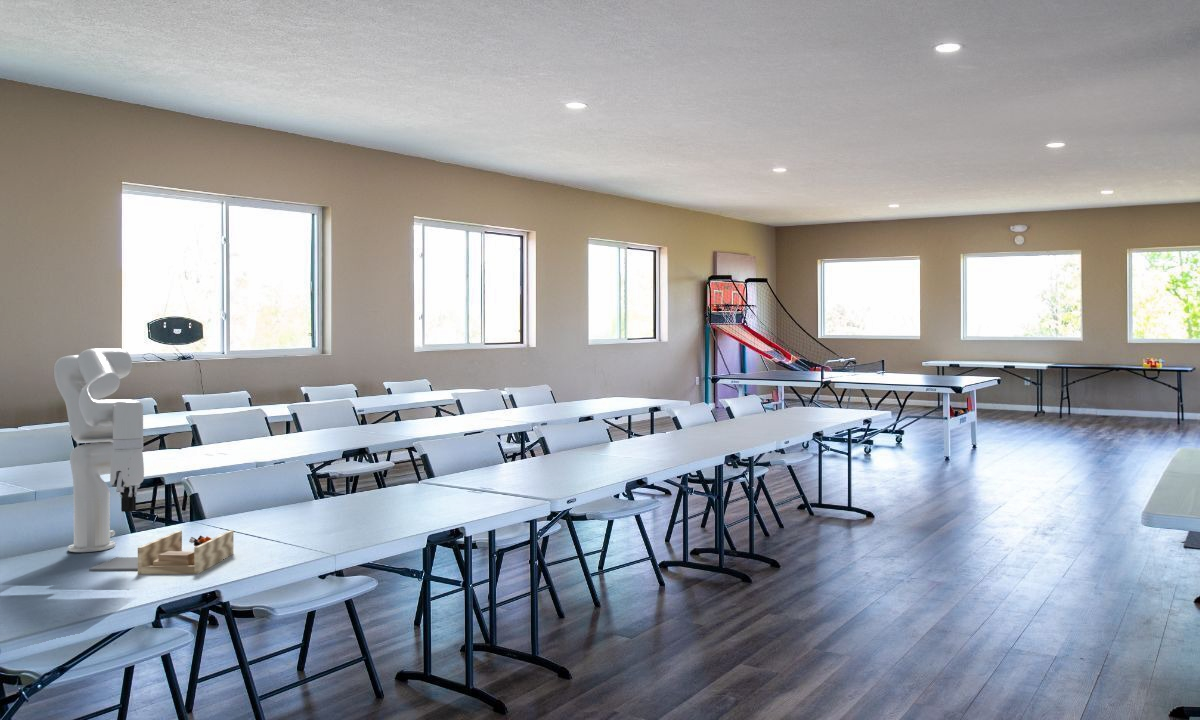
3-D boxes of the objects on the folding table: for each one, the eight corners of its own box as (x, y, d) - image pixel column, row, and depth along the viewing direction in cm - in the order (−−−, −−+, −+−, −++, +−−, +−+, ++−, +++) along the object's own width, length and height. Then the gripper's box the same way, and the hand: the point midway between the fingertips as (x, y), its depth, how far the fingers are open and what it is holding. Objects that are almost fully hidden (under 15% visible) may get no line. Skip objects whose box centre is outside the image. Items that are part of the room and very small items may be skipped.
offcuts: (162, 567, 248) (162, 551, 248) (198, 567, 248) (198, 551, 248) (151, 572, 242) (151, 555, 242) (189, 572, 242) (189, 555, 242)
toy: (196, 533, 256) (198, 524, 270) (183, 551, 255) (186, 541, 269) (222, 547, 259) (222, 537, 273) (209, 565, 258) (210, 554, 272)
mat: (116, 559, 258) (116, 557, 258) (165, 559, 258) (165, 557, 258) (89, 570, 244) (89, 568, 244) (141, 570, 244) (141, 568, 244)
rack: (178, 554, 264) (178, 530, 264) (233, 554, 265) (233, 530, 265) (137, 574, 240) (137, 547, 240) (198, 573, 241) (198, 547, 241)
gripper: (128, 443, 259) (128, 507, 258) (100, 447, 244) (100, 515, 244) (154, 442, 259) (155, 506, 259) (128, 447, 244) (128, 515, 244)
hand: (128, 511), depth 251 cm, fingers closed
